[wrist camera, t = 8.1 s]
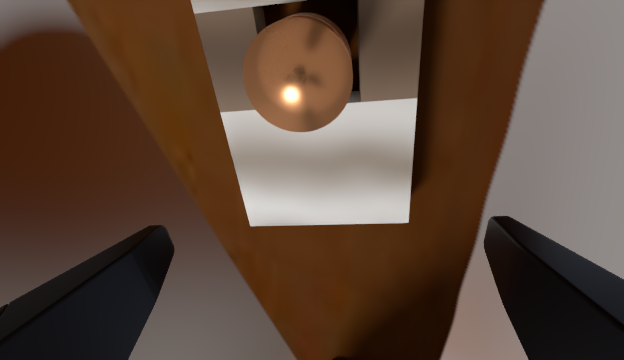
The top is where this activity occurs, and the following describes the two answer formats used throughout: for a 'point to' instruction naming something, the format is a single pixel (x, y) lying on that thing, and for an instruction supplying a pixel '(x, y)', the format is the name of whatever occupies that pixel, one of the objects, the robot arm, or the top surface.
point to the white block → (331, 138)
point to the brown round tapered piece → (299, 72)
